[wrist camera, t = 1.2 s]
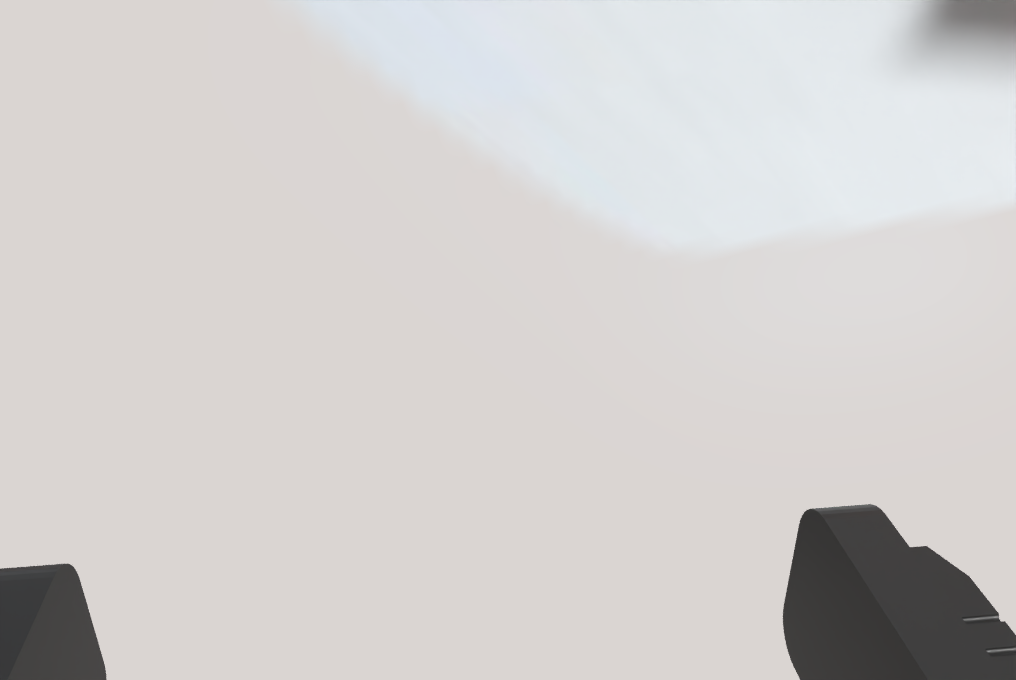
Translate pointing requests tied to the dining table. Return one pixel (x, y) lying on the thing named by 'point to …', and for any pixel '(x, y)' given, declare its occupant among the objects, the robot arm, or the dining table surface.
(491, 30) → the dining table surface
